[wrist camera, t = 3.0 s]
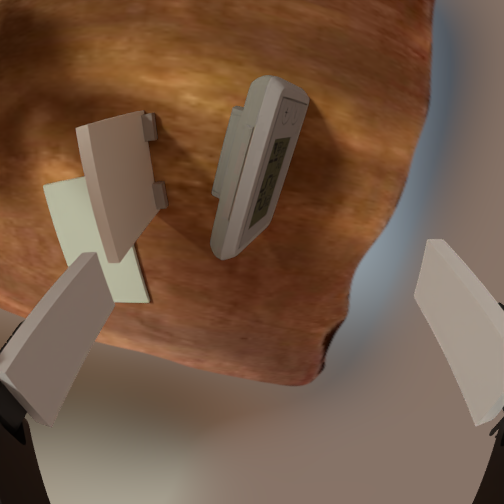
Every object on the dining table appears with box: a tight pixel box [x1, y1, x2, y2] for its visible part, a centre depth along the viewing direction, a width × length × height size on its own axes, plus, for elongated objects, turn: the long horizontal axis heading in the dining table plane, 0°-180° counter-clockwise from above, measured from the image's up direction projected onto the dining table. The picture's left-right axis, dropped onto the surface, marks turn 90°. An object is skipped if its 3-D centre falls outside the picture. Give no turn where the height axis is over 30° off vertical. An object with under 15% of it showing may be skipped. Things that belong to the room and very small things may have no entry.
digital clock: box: [210, 75, 309, 260], centre depth 27 cm, size 16×9×11 cm, turn 153°
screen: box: [76, 110, 168, 263], centre depth 27 cm, size 12×4×12 cm, turn 4°
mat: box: [43, 176, 150, 303], centre depth 38 cm, size 19×12×1 cm, turn 4°
